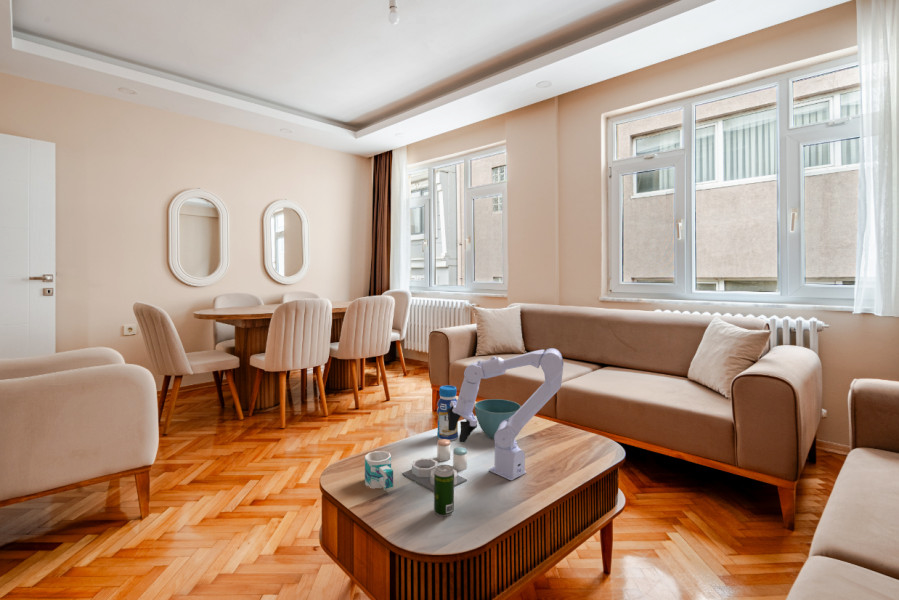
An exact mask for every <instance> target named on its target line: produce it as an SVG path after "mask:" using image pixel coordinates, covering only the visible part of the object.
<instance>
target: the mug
mask: <svg viewBox="0 0 899 600" xmlns="http://www.w3.org/2000/svg"><path fill="white" fill-rule="evenodd" d="M364 485H366V487H367V486H369V487H371V488H370V489H375V488H380V489H382V487H383V489H385V490H388V489H391V488H393V487H394V470H393V469H392V455H391V452H389V451H386V450H374V451H371V452H368V453H367V454H365V455H364ZM369 487H368V488H369Z"/></svg>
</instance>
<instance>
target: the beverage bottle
mask: <svg viewBox="0 0 899 600" xmlns="http://www.w3.org/2000/svg"><path fill="white" fill-rule="evenodd" d="M438 390H439V397H440V398H439V399H438V401H437V409H436V414H437V434H436V435H437V436H436V437H437V438H438V440H440V439H448V440H450V442H451V441H456V440H457V439H458V437H459V432H458V431H459V429H458V427H459V422H458V423H457V425H456V428H455V430H454V431H449V430H448V424H449V420H448V413H447V409H448V408H449V409H451V407H450V403H451V401H456V402H457V401H458V399H457V398H456V396H457V393H458V391H457V387H456V386H454V385H447V384H446V385H441V386H440V387H439V389H438Z"/></svg>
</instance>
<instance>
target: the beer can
mask: <svg viewBox="0 0 899 600" xmlns="http://www.w3.org/2000/svg"><path fill="white" fill-rule="evenodd" d="M433 498H434V499H433V511H434V513H435V515H436V516H438V517H442V518H447V517H450V516H451V515H452V514H453V513H454V511H455V487H454V471H453V465H449V464H439V465H438V466H437V467H436V468H435V471H434V492H433Z"/></svg>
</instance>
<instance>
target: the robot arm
mask: <svg viewBox="0 0 899 600" xmlns="http://www.w3.org/2000/svg"><path fill="white" fill-rule="evenodd" d="M526 366H532V367H534V368H537V369H539V368H540V367H541V369H542V371H543V374H544V382H542V383H541V384H540V386H539V387H538V388H537V389H536V390H535V391H534V392H533V394H532V395H530V397H528V399H527V400H526V401H525V402H524V403H523V404H522V405H520V406H521V407H520V408H519V409H518V410H517V412H516V413H515V414H514V415H512V416H511V417H510V418H509V419H507V420H504V421H502V422H501V423H500V424H499V427H498V430H497V431H496V433H495V435H494V439H493V440H494V463H493V464H494V466H492V467H490V468H488V471H489V472H491V473H493V474H496V475H498V476H501V477H502V478H504V479H507V480H509V481H513V480H515V479H517V478H519V477H520V476H523V475H525V474H526V473H527V471H526V470H525V469H526V466H525V465H526V463H525V462H526V461H525V460H526V456H525V452H524V450H523V449H521V448H520V447H519V446H518V442H517V440H516V437H517V436H518V435H519V434H520V432H521V430H522V429H523V428H524V427H525V426H526V425H527V424H528V422H529V421H531V419H532V418H533V417H534V416H536V414H538V412H539V411H540V410H541V409H542V408H543V407H544V406H545V405H546V404H547V402H548V401H550V400H551V399H552V398H553V396H554V395H555V394H557V392H558V391H560V389H561V388H562V383H563V382H562V381H563V375H564V374H563V373H564V372H563V371H564V360H563V356H562V353H561V351H559V350H558V349H557V348H552V347H551V348H547V349H546V350H545V349H538V350H533V351H529V352H525V353H523V354H520V355H516V356H513V357H510V358H506V359H504V358H502V357H500V356H498V357H497V356H495V355H494V356H491V357H490V358H489V359H485V360H481V359H480V360H478V361H476V362H474V361H473V362H472V363H470V364H469V365H467V366H466V368H465V370H464V373H463V376H464V377H463V381H462V383H461V387H460V390H459V395H458V399H457V402H456V401H451V403H450V407H451V409H449V408H448V409H447V413H448V420H449V424H448V430H449V431H454V430H455V428H456V425H457V423H458V424H459V420H460V418H461V417H462V418H463V419H465V420H464V421H463V420H462V421H460V434H459V436H458V437H459V439H458V440H459V443H466V442H467V440H468V438H469V436H470V434H471V433H472V432H473V431H474V430H475V429H476V428H477V427H478V420H477V418H476V417H475V414H474V413H473V410H474V409H475V404H476V400H477V396H478V394H479V390H480V383H481V382H482V381H481V380H482V379H483V380H484V379H490V378H494V377H498V376H499V377H500V376H503V375H505V373H506V371H507V370H511V369H515V368H521V367H526Z"/></svg>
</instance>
